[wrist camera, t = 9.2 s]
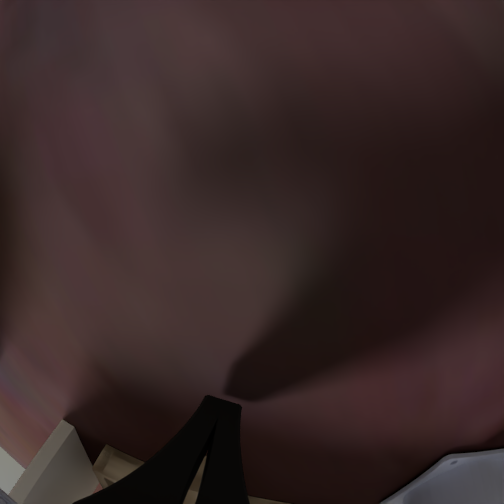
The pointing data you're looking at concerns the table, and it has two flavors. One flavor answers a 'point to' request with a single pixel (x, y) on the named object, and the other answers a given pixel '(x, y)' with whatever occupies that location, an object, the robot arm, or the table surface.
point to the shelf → (57, 471)
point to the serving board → (120, 465)
